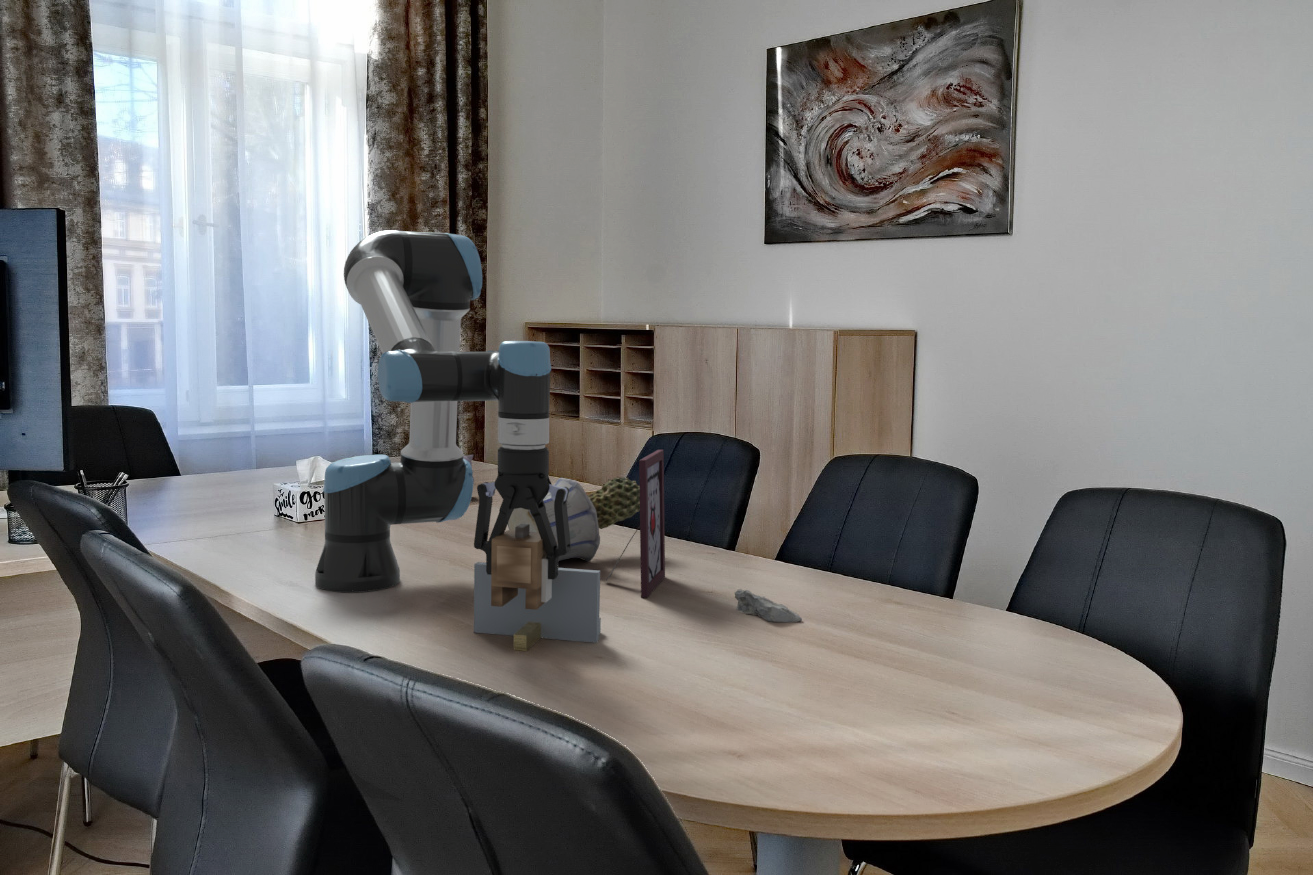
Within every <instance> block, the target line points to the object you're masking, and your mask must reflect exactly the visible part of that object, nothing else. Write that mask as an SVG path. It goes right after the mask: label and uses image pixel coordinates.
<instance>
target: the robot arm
mask: <svg viewBox="0 0 1313 875" xmlns="http://www.w3.org/2000/svg"><path fill="white" fill-rule="evenodd" d="M482 270H483V268H482V263H481V258H480V255H479V251H478V248H477V247H476V245H475V243H474V242H473V241H472V240H471V239H470V238H469V237H468V236H466V235H461V234H455V233H448V232H430V231H429V232H427V231H426V232H424V231H423V232H422V231H410V230H409V231H403V230H394V229H392V230H391V229H387V230H381V231H377V232H374V233H371V234H369V235H367V236H365V237H364V238H363V239H360V241H359V242H358V243H356V244H355V246H354V247H353V248H352V249H351V251H350V252H349V254H348V256H347V258H346V260H345V263H344V267H343V278H344V279H343V280H344V284H345V287H346V289H347V292H348V294H349V296H350V297H351V299H352V300H354V302H355V303H357V304H359V305H360V306H361V309H362V310H363V312H364V313H363V314H365V317H366V319H367V322H368V324H369V326H370V328H371V330H372V334H373V335H374V337H375V340H376V342H377V344H378V346H379V349H380V350H381V351H380V352H381V353H382V354H381V355H380V357H379V359H378V360H379V361H378V364H377V383H378V387H379V392H380V394H381V395H380V396H382V398H383V399H385V400H387V401H388V402H401V403H402V402H404V403H406V404H408V403H409V404H410V412H409V413H410V414H409V415H410V416H409V440H408V441H409V442H408V444H406V445H405V446H404V447H403V448H402V449H401V450H400V461H396V462H394V461H393V462H392V460H391V458H390V457H389V455H386V454H372V455H370V454H365V455H364V454H363V455H357V456H353V457H347V458H343V459H342V458H341V459H339V460H336V461H334V462H331V463H330V464H329V465H328V466H326V468H325V471H324V480H323V488H322V491H323V494H324V498H323V499H324V544H323V548H322V551H321V554H320V556H319V560H318V562H317V563H318V564H317V566H316V569H315V571H314V572H315V574H314V577H315V578H314V581H315V582H314V585H315V586H316V587H317V588H319V589H322V590H326V591H330V592H338V593H339V592H340V593H356V592H357V593H358V592H359V593H362V592H371V591H372V592H373V591H379V590H383V589H384V590H385V589H387V588H391V587H393V586H396V585H397V584H399V583H400V581H401V570H400V567H399V563H398V560H397V557H396V554H395V551H394V549H393V547H392V546H393V545H392V543H391V526H392V525H406V524H407V525H408V524H421V523H423V524H424V523H437V524H438V523H443V522H449V521H454V520H455V521H456V520H458V519H460V518H462V517H463V516H464V515H465V513H466V512H467V511H468V509H469V507H470V503H471V501H472V497H473V491H474V484H473V478H472V476H474V475H473V474H474V472H473V471H474V470H473V466H472V467H471V464H470V463H469V462H468V461H467V460H465V459H463V455H464V451H463V450H462V449H461V448H460V447H459V446H458V445H457V423H458V422H457V421H458V419H457V418H458V402H485V401H486V402H487V401H491V402H492V401H496V402H497V403H498V404H497V405H498V407H497V419H498V420H497V442H498V444H500V445H501V446H499V448H498V449H497V477H496V479H495V481H492V482H489V481H484V482H483V483H480V484H478V485H477V486H476V490H477V496H478V499H479V500H478V506H477V507H478V508H477V509H478V510H477V516H476V525H475V530H474V531H475V533H474V539H473V541H474V542H473V548H475V549H476V550H481V551H483V552H484V553H485V556H486V557H485V561H486V572H487V574H488V575H491V561H492V539H493V538H495V537H497V536H500V535H502V534H503V533H504V532H506V531H507V530H506V529H507V528H508V522H509V519H510V517H511V514H512V512H513V510H514V509H517V508H523V509H526V510H530V512H531V515H532V516H533V517H534V520H535V523H536V526H537V528H538V531H539V534H540V537H541V539H542V543H543V546H544V549H545V552H546V555H547V556H546V557H544V558H543V559H542V586H541V602H547V601H548V600H550V599H551V598H552V579H553V580H554V579H555V578H557V576H558V568H559V561H558V558H559V556H561V555H565V554H567V553H568V552H569V551H570V550H571V543H570V533H569V523H568V513H567V503H566V502H567V498H568V494H569V489H568V487H562V488H561V487H558V486H555V485H554V484H552V481H551V479H550V477H549V476H550V474H549V470H550V465H549V464H550V450H549V449H548V447H546V445H549V443H550V404H551V403H550V400H551V395H550V394H551V372H552V364H551V353H550V352H551V350H550V346H549V345H548V343H547V342H544V341H534V340H533V341H532V340H531V341H530V340H505V341H502V342H501V343H500V344H499V348H498V350H486V351H460V349H461V348H460V347H461V345H460V344H461V324H462V323H461V322H462V320H461V319H463V317H464V316H465V315H466V314H467V313H468V312H469V311H470V310H471V308H470V306H471V301H475V300H477V299H478V298H480V295H481V293H482V292H481V290H482V287H483V271H482ZM496 491H497V493H498V494H499V496H500V497H501V499H502V502H501V504H500V506H499V510H498V514H497V518H496V521H495V522H494V526H493V528H492V531H491V533H490V536H489V531H490V522H491V517H492V516H491V514H492V507H493V499H494V498H493V496H494V495H495V493H496ZM549 492H550V493H551V497H552V500H553V501H554V512H555V522H556V531H557V541H558V546H557V543H556V540H555V537H554V534H553V531H552V528H551V525H550V522H549V519H548V516H547V514H546V507H545V504H544V501H543V499H544V498H545V497H546V495H547V494H548V493H549Z"/></svg>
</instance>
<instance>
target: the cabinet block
mask: <svg viewBox="0 0 1313 875" xmlns="http://www.w3.org/2000/svg"><path fill="white" fill-rule="evenodd" d="M529 529H530V524H520V525H518V526H517V527H515V531H512V530H509V529H508V530H505V532H504V533H503V534H502V535H500V536H497V537H495V538H493V539H492V561H491V606H498V607H502V606H504V605H505V604H507V603H508V602H509V601H511V600H512V599H513V598H515V597H516V596H517V595H518V588H523V589H526V600H525V609H534V610H537V609H538V608H539V607H540V606H542V605H543V604H544V603H545V602H541V586H542V559H543V558H544V557H546V556H547V555H546V552H545V549H544V546H543V543H542V539H541V537H540V534H539V532H529Z"/></svg>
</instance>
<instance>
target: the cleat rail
mask: <svg viewBox="0 0 1313 875" xmlns="http://www.w3.org/2000/svg"><path fill="white" fill-rule="evenodd" d="M540 639H542V638H541V623H535V622H528V623H527V624H526V625H524V626H523V627H522V628H521V629H520V630H518V631H517V632H516V633H515V634H514V636H513V651H519V652H527V651H528V650H530V648H532V646H534V645H535V644H536V643H537V642H538V641H539V640H540Z"/></svg>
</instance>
